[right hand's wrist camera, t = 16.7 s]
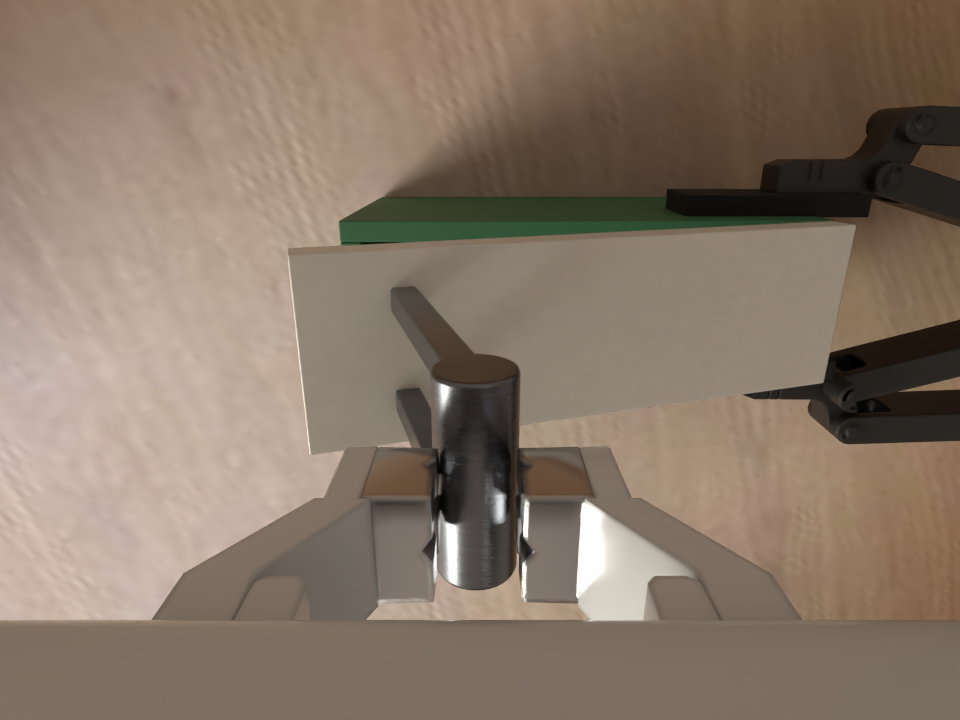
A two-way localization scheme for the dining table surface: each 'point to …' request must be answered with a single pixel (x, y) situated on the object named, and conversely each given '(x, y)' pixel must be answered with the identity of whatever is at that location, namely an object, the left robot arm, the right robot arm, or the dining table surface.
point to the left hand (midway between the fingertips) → (668, 283)
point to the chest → (523, 218)
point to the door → (548, 345)
